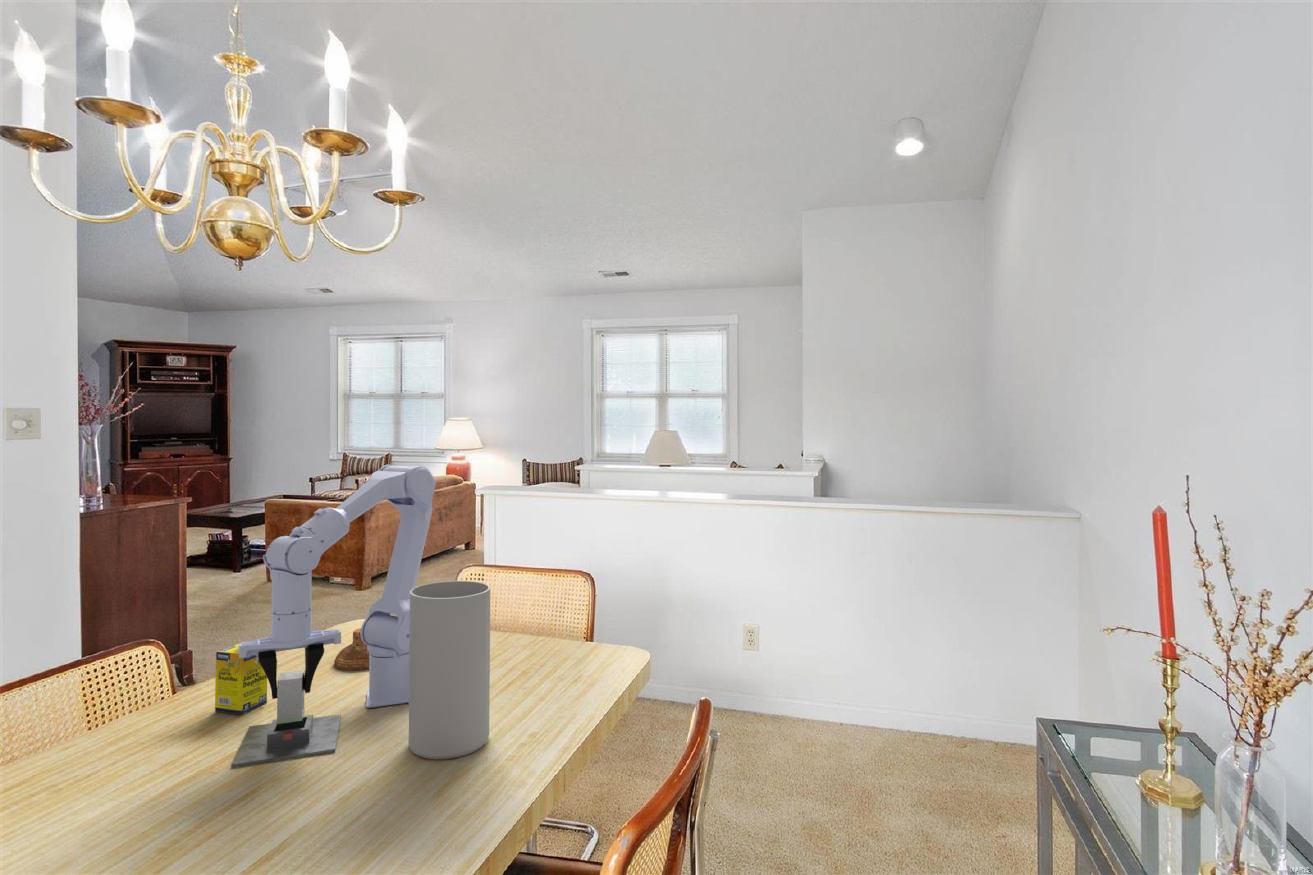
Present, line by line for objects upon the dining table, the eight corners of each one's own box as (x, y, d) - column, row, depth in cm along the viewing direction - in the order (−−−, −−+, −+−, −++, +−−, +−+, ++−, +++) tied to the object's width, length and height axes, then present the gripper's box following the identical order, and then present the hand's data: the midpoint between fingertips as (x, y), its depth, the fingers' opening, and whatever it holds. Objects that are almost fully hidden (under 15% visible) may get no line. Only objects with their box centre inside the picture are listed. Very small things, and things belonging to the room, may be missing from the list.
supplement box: (241, 715, 118) (242, 654, 118) (213, 712, 120) (214, 651, 120) (268, 702, 124) (268, 643, 124) (241, 699, 125) (242, 641, 125)
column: (304, 712, 111) (304, 670, 111) (302, 720, 108) (302, 678, 108) (280, 715, 110) (280, 673, 110) (276, 724, 107) (276, 680, 107)
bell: (372, 650, 155) (373, 619, 155) (403, 661, 148) (403, 628, 148) (323, 664, 146) (323, 630, 146) (353, 676, 139) (353, 641, 139)
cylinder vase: (503, 732, 113) (505, 584, 112) (458, 767, 101) (460, 601, 101) (441, 721, 117) (442, 578, 117) (391, 753, 105) (392, 594, 105)
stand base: (341, 716, 118) (341, 702, 118) (335, 752, 105) (335, 735, 105) (249, 729, 113) (249, 713, 113) (231, 767, 100) (231, 750, 100)
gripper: (337, 599, 116) (336, 677, 116) (238, 610, 108) (238, 694, 108) (343, 608, 110) (342, 690, 110) (239, 621, 102) (239, 709, 103)
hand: (291, 693), depth 109 cm, fingers closed on column, 4 cm apart
